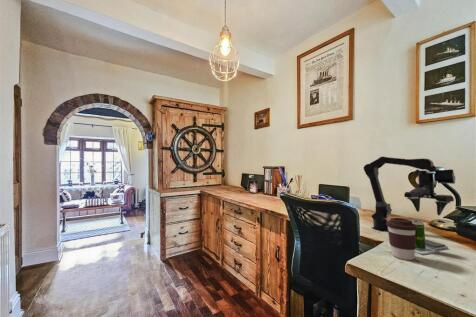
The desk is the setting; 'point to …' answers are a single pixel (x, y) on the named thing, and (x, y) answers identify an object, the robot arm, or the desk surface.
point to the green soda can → (419, 235)
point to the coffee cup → (402, 238)
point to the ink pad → (435, 245)
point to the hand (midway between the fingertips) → (427, 213)
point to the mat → (426, 251)
